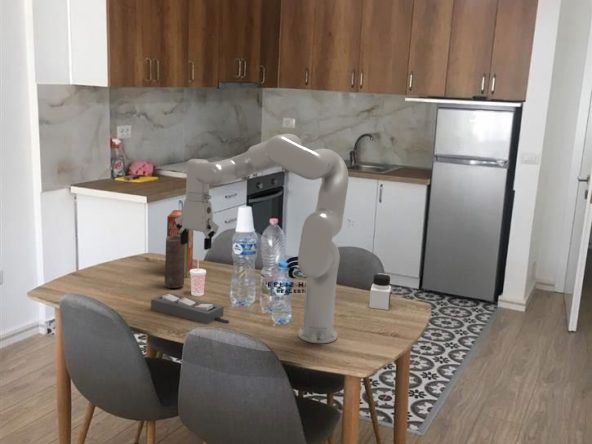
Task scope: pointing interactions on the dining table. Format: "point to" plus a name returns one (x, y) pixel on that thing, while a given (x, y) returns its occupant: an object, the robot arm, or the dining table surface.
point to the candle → (174, 262)
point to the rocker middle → (186, 302)
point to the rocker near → (204, 306)
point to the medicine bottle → (380, 292)
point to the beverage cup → (197, 281)
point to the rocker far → (170, 298)
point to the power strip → (188, 309)
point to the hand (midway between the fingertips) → (195, 246)
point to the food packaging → (188, 259)
